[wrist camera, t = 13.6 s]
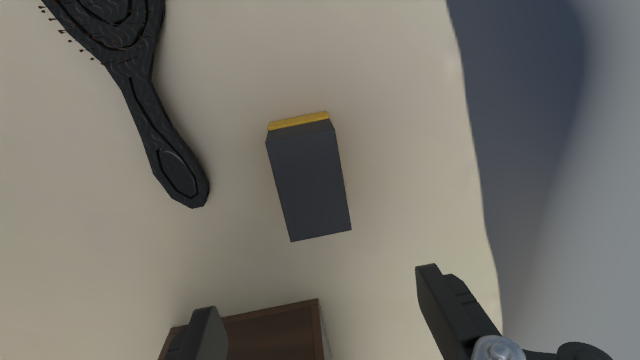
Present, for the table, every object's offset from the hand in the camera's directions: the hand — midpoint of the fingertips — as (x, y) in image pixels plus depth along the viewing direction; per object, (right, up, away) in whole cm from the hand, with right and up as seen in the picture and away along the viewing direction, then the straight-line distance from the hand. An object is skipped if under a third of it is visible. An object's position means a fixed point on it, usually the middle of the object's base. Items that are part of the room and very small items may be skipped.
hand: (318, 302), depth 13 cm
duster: (-1, +6, +14) cm, 15 cm away
